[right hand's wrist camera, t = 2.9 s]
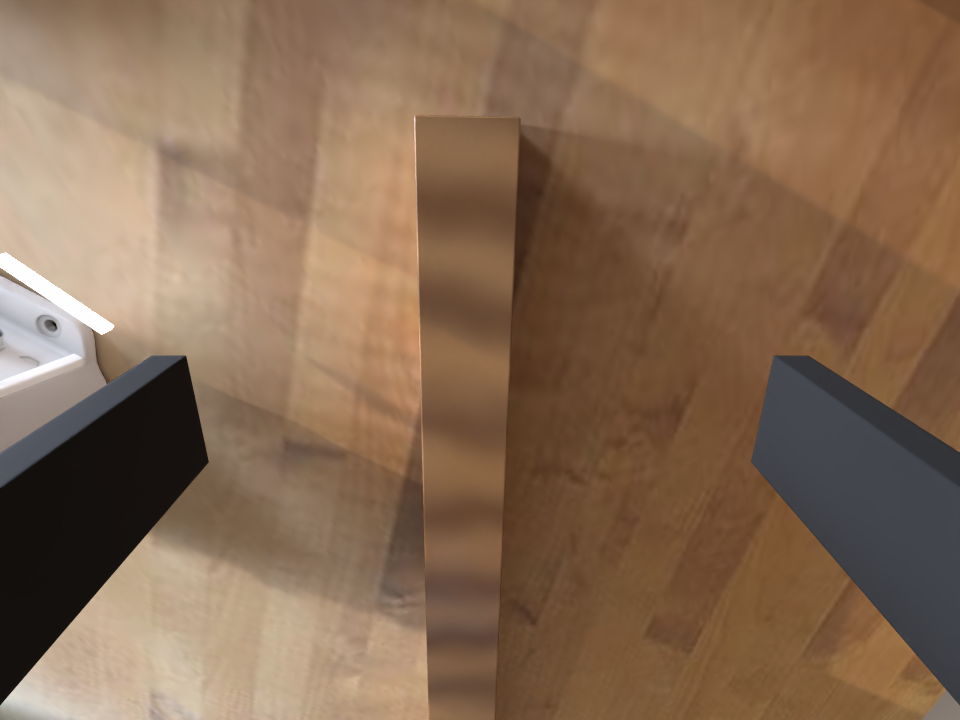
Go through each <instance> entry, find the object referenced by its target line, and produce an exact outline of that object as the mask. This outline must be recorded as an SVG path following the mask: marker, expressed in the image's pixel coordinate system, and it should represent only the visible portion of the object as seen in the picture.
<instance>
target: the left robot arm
mask: <svg viewBox="0 0 960 720" xmlns="http://www.w3.org/2000/svg"><path fill="white" fill-rule="evenodd" d="M0 267H1V268H3V269H4V270H6V271H7V272H9V273H10V274H12V275H13V276H15V277H16V278H18V279H19V280H21V281H22V282H24V283H25V284H27V285H28V286H30V287H31V288H33V289H34V290H36V291H37V292H39V293H40V294H42V295H43V296H45V297H46V298H48V299H49V300H51V301H52V302H51V301H49V300H47V299H45V298H43V297H41V296H39V295H38V294H36V293H34V292H32V291H30V290H28V289H26V288H24V287H22V286H20V285H18V284H16V283H14V282H12V281H10V280H8V279H6V278H4V277H2V276H0V453H1V452H2V451H4V450H5V449H7V448H8V447H10V446H11V445H13V444H15V443H16V442H18V441H19V440H21V439H22V438H24V437H26V436H27V435H29V434H30V433H32V432H33V431H35V430H36V429H38V428H40V427H41V426H43V425H44V424H46V423H47V422H49V421H51V420H52V419H54V418H55V417H57V416H58V415H60V414H61V413H63V412H65V411H66V410H68V409H69V408H71V407H72V406H74V405H76V404H77V403H79V402H80V401H82V400H83V399H85V398H86V397H88V396H90V395H91V394H93V393H94V392H96V391H97V390H99V389H101V388H102V387H104V386H105V385H107V382H106V380H105V379H104V377H103V375H102V373H101V371H100V369H99V366H98V363H97V358H96V346H95V339H94V334H93V331H92V329H91V328H93V329H94V330H96V331H97V332H99V333H100V334H104V333H106V332H108V331H110V330H112V328H113V327H114V325H112V324H111V323H109V322H108V321H106V320H105V319H103V318H102V317H100V316H99V315H97V314H96V313H94V312H93V311H91V310H90V309H88V308H87V307H85V306H84V305H82V304H81V303H79V302H78V301H76V300H75V299H73V298H72V297H70V296H69V295H67V294H66V293H64V292H63V291H62V290H60V289H59V288H57V287H56V286H54V285H53V284H51V283H50V282H48V281H47V280H45V279H44V278H42V277H41V276H39V275H38V274H36V273H35V272H33V271H32V270H30V269H29V268H27V267H26V266H24V265H23V264H21V263H20V262H18V261H17V260H15V259H14V258H12V257H11V256H9V255H8V254H7V253H4V254H0ZM53 302H54V303H53ZM52 321H54V322H55V323H56V324H57V327H55V326H54V325H53V323H52Z"/></svg>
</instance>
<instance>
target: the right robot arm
mask: <svg viewBox="0 0 960 720" xmlns="http://www.w3.org/2000/svg"><path fill="white" fill-rule="evenodd" d="M208 462H209V461H208V456H207V451H206V447H205V442H204V437H203V433H202V428H201V423H200V419H199V414H198V409H197V405H196V400H195V395H194V390H193V386H192V381H191V376H190V372H189V367H188V362H187V358H186V356H151V357H149V358H147V359H146V360H144V361H143V362H141V363H140V364H138V365H137V366H135V367H133V368H132V369H130V370H129V371H127V372H126V373H124V374H122V375H121V376H119V377H118V378H116V379H115V380H113V381H111V382H110V383H108V384H107V385H105V386H104V387H102V388H101V389H99V390H97V391H96V392H94V393H93V394H91V395H90V396H88V397H86V398H85V399H83V400H82V401H80V402H79V403H77V404H76V405H74V406H72V407H71V408H69V409H68V410H66V411H65V412H63V413H61V414H60V415H58V416H57V417H55V418H54V419H52V420H51V421H49V422H47V423H46V424H44V425H43V426H41V427H40V428H38V429H36V430H35V431H33V432H32V433H30V434H29V435H27V436H26V437H24V438H22V439H21V440H19V441H18V442H16V443H15V444H13V445H11V446H10V447H8V448H7V449H5V450H4V451H2V452H1V453H0V705H1V704H2V703H3V701H4V700H5V699H6V698H7V697H8V696H9V694H10V693H11V692H12V691H13V690H14V689H15V687H16V686H17V685H18V684H19V683H20V682H21V680H22V679H23V678H24V677H25V676H26V675H27V673H28V672H29V671H30V670H31V669H32V668H33V666H34V665H35V664H36V663H37V662H38V661H39V659H40V658H41V657H42V656H43V655H44V654H45V652H46V651H47V650H48V649H49V648H50V647H51V645H52V644H53V643H54V642H55V641H56V640H57V638H58V637H59V636H60V635H61V634H62V633H63V631H64V630H65V629H66V628H67V627H68V626H69V624H70V623H71V622H72V621H73V620H74V619H75V617H76V616H77V615H78V614H79V613H80V612H81V610H82V609H83V608H84V607H85V606H86V605H87V603H88V602H89V601H90V600H91V599H92V598H93V596H94V595H95V594H96V593H97V592H98V591H99V589H100V588H101V587H102V586H103V585H104V584H105V582H106V581H107V580H108V579H109V578H110V577H111V575H112V574H113V573H114V572H115V571H116V570H117V568H118V567H119V566H120V565H121V564H122V563H123V561H124V560H125V559H126V558H127V557H128V556H129V554H130V553H131V552H132V551H133V550H134V549H135V547H136V546H137V545H138V544H139V543H140V542H141V540H142V539H143V538H144V537H145V536H146V535H147V533H148V532H149V531H150V530H151V529H152V528H153V526H154V525H155V524H156V523H157V522H158V521H159V519H160V518H161V517H162V516H163V515H164V514H165V512H166V511H167V510H168V509H169V508H170V507H171V505H172V504H173V503H174V502H175V501H176V500H177V498H178V497H179V496H180V495H181V494H182V493H183V492H184V490H185V489H186V488H187V487H188V486H189V485H190V483H191V482H192V481H193V480H194V479H195V478H196V476H197V475H198V474H199V473H200V472H201V471H202V469H203V468H204V467H205V466H206V465H207V464H208ZM751 462H752V464H753V465H754V466H755V467H756V468H757V469H758V471H759V472H760V473H761V474H762V475H763V476H764V478H765V479H766V480H767V481H768V482H769V483H770V485H771V486H772V487H773V488H774V489H775V490H776V492H777V493H778V494H779V495H780V496H781V497H782V498H783V500H784V501H785V502H786V503H787V504H788V505H789V507H790V508H791V509H792V510H793V511H794V512H795V514H796V515H797V516H798V517H799V518H800V519H801V521H802V522H803V523H804V524H805V525H806V526H807V528H808V529H809V530H810V531H811V532H812V533H813V535H814V536H815V537H816V538H817V539H818V540H819V542H820V543H821V544H822V545H823V546H824V547H825V549H826V550H827V551H828V552H829V553H830V554H831V556H832V557H833V558H834V559H835V560H836V561H837V563H838V564H839V565H840V566H841V567H842V568H843V570H844V571H845V572H846V573H847V574H848V575H849V577H850V578H851V579H852V580H853V581H854V582H855V584H856V585H857V586H858V587H859V588H860V589H861V591H862V592H863V593H864V594H865V595H866V596H867V598H868V599H869V600H870V601H871V602H872V603H873V605H874V606H875V607H876V608H877V609H878V610H879V612H880V613H881V614H882V615H883V616H884V617H885V619H886V620H887V621H888V622H889V623H890V624H891V626H892V627H893V628H894V629H895V630H896V631H897V633H898V634H899V635H900V636H901V637H902V638H903V640H904V641H905V642H906V643H907V644H908V645H909V647H910V648H911V649H912V650H913V651H914V652H915V654H916V655H917V656H918V657H919V658H920V659H921V661H922V662H923V663H924V664H925V665H926V666H927V668H928V669H929V670H930V671H931V672H932V673H933V675H934V676H935V677H936V678H937V679H938V680H939V682H940V683H941V684H942V685H943V686H944V687H945V689H946V690H947V691H948V692H949V693H950V694H951V696H952V697H953V698H954V699H955V700H956V701H957V703H958V704H959V705H960V453H959V452H958V451H956V450H955V449H953V448H952V447H950V446H949V445H947V444H945V443H944V442H942V441H941V440H939V439H938V438H936V437H934V436H933V435H931V434H930V433H928V432H927V431H925V430H924V429H922V428H920V427H919V426H917V425H916V424H914V423H913V422H911V421H909V420H908V419H906V418H905V417H903V416H902V415H900V414H899V413H897V412H895V411H894V410H892V409H891V408H889V407H888V406H886V405H884V404H883V403H881V402H880V401H878V400H877V399H875V398H874V397H872V396H870V395H869V394H867V393H866V392H864V391H863V390H861V389H859V388H858V387H856V386H855V385H853V384H852V383H850V382H849V381H847V380H845V379H844V378H842V377H841V376H839V375H838V374H836V373H834V372H833V371H831V370H830V369H828V368H827V367H825V366H823V365H822V364H820V363H819V362H817V361H816V360H814V359H813V358H811V357H809V356H774V358H773V362H772V367H771V372H770V376H769V381H768V386H767V390H766V395H765V400H764V405H763V409H762V414H761V419H760V423H759V428H758V433H757V437H756V442H755V447H754V451H753V456H752V461H751Z"/></svg>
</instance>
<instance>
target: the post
mask: <svg viewBox="0 0 960 720" xmlns="http://www.w3.org/2000/svg"><path fill="white" fill-rule="evenodd" d="M520 121H521V119H520V117H486V116H437V115H415V116H414V133H415V174H416V216H417V257H418V298H419V340H420V381H421V423H422V464H423V506H424V547H425V589H426V630H427V671H428V713H429V720H495V711H496V687H497V663H498V640H499V616H500V593H501V569H502V545H503V522H504V498H505V475H506V451H507V427H508V404H509V380H510V357H511V333H512V309H513V286H514V262H515V239H516V215H517V192H518V168H519V144H520Z"/></svg>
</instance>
